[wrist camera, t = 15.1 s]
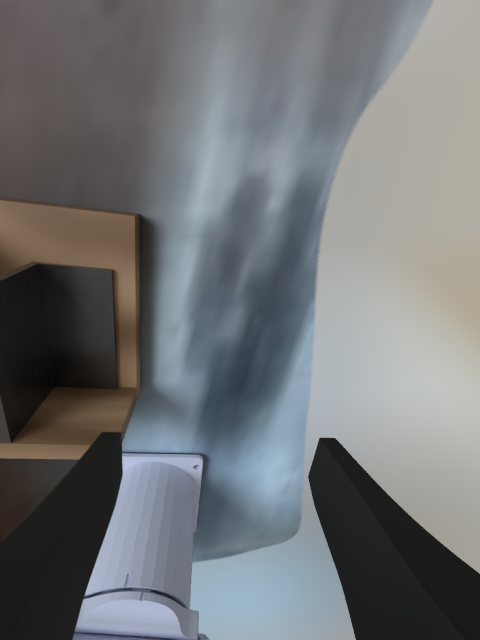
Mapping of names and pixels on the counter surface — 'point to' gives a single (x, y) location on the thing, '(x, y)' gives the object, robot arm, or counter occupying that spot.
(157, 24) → the counter surface
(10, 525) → the counter surface
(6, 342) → the bookend
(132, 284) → the shelf
